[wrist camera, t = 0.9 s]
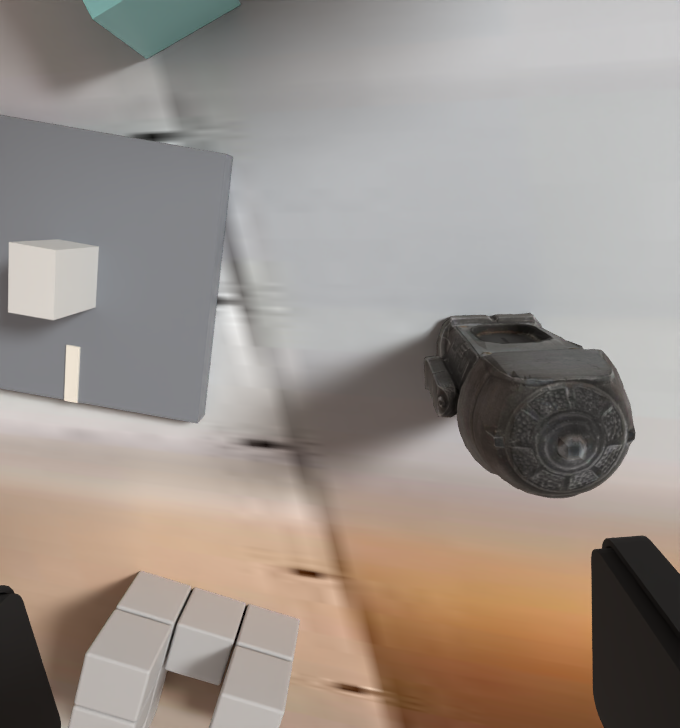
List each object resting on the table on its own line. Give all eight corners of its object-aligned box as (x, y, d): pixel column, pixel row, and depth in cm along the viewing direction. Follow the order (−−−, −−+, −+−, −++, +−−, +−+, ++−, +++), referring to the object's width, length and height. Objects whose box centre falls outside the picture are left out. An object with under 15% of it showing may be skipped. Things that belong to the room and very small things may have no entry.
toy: (418, 404, 35) (454, 534, 20) (418, 312, 33) (455, 382, 19) (555, 400, 34) (692, 532, 20) (560, 307, 33) (712, 375, 18)
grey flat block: (-40, 109, 32) (-131, 84, 26) (232, 157, 32) (202, 142, 26) (-37, 372, 36) (-116, 401, 30) (204, 415, 36) (172, 452, 30)
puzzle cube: (107, 697, 42) (49, 803, 34) (140, 568, 39) (84, 653, 31) (256, 741, 42) (232, 856, 35) (300, 617, 39) (284, 713, 32)
